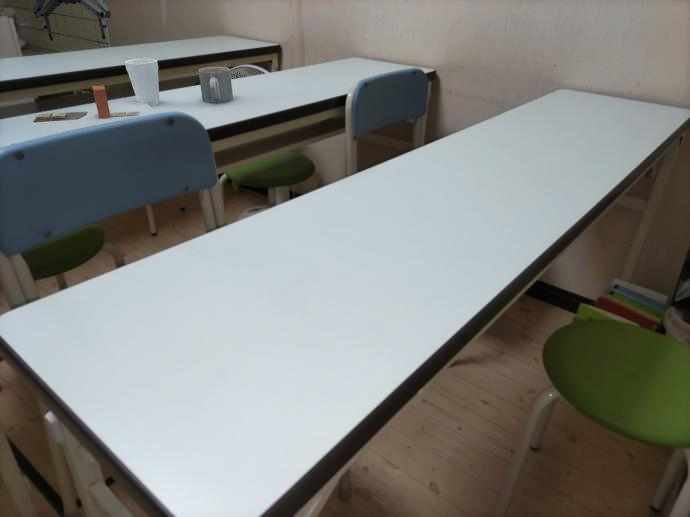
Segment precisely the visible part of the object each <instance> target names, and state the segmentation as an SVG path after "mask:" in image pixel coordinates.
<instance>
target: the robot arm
mask: <svg viewBox="0 0 690 517" xmlns="http://www.w3.org/2000/svg"><path fill="white" fill-rule="evenodd" d="M46 1H47V0H35V2H34V4H33V6H32V8H31V13H32V17H33V18H34V19H40V22H41V26H42V28H43V30H47V33H48V37H49V40H50V41H51V42H52V41H54V38H53V32H52V28H51V27H52V26H51V23H50V19H49V17H50V15H51V14H53V12H54V11H55V10H56V9H57V8H58V7H60V6H61V4H65V5H68V4H72V5H77V4H79V5H80V6H82V7H85V8H86V9H87V10H88V11H89V12H91V13H92V14H93V15H95V16H96V17H97V21H98V26H99V30H100V36H101V39H102V40H106V34H105V30H104V29H107V27H108V25H107V20H106V19H107V18H108V19H111V18H112V15H111V9H110V8H109V7H108V6H107V5H106V4H105V3H104V0H92V1H90V0H48V1H47V3H46ZM45 3H46V4H45Z"/></svg>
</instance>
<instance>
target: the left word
mask: <svg viewBox="0 0 690 517" xmlns="http://www.w3.org/2000/svg"><path fill="white" fill-rule="evenodd" d="M88 113H89V112H88V111H73V112H45V113H41V112H40V113H37V114H36V116H35V118H34V120H33V123H47V122H63V121H79V120H80V119H82V118H84V117H86V116H87V114H88Z"/></svg>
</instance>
